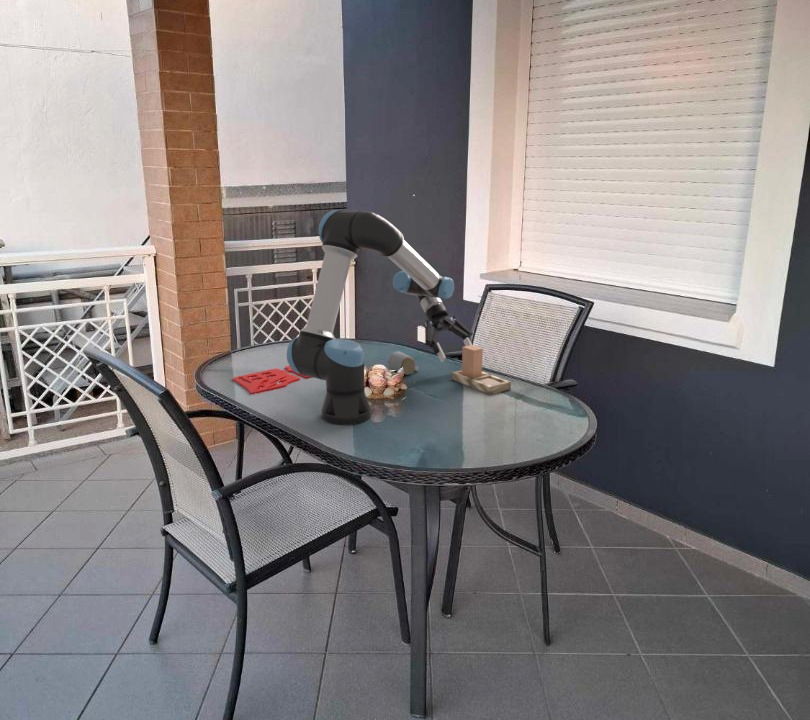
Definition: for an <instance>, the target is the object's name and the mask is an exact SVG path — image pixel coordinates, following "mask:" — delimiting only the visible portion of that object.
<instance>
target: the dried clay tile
mask: <svg viewBox="0 0 810 720" xmlns="http://www.w3.org/2000/svg"><path fill="white" fill-rule="evenodd" d="M478 381H480V382H483V383H485V384H488V385H494V384H498V383H501V382H498V381H495V380H493V379H490V378H487V379H482V380H478Z"/></svg>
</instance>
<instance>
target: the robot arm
mask: <svg viewBox="0 0 810 720" xmlns="http://www.w3.org/2000/svg"><path fill="white" fill-rule="evenodd" d="M318 235H319V237H318V238H319V240H320V241H321V243H322V244H321V249H322V251H323V252H324V256H323V261H322V263H321V267H320V272H319V276H318V279H317V284H316V286H315V290H314V295H313V299H312V303H311V305H310V306H311V307H310V310H309V315H308V318H307V321H306V326H305V327H303V328H302V329H300V331H299V335H298V336H297V337H294V338H292V340H291V341H290V342H289V344H288V345H287V349H286V360H287V363H288V366H290V367H291V369H292V370H293V371H295V372H296V373H299V374H301V375H303V376H309V377H313V378H315V379H318V380H322V381H325V383H326V384H325V385H326V388H325V389H326V395H325V397H324V400H323V405H322V408H321V418H322V420H323V421H325V422H326V423H329V424H333V425H342V426H343V425H348V426H349V425H356V424H360V423H363V422H366V421H367V420H370V419H371V415H372V409H371V406H370V403H369V401H368V398H367V396H366V395H367V394H366V391H365V356H364V354H365V353H364V349H363V346H362V345H361V344H360V343H359V342H357V341H354V340H352V339H351V340H350V339H342V338H336V337H335V335H334V330H335V326H336V322H337V318H338V314H339V310H340V306H341V301H342V298H343V294H344V290H345V287H346V282H347V279H348V275H349V271H350V266H351V263H352V261H353V260H355V259H356V258H358V254H359V251H360V249H361V250H368V251H373V252H376V253H378V254H379V255H380V256H381V257H384V258H388V259H390V260H391V262H392V263H394V265H396V266H397V267H398V268H399V269H400V270H399V271H397V272H396V273H395V275H394V276H393V278H392V287H393V289H395V291H397V292H400V293H402V294H406V295H411V296H415V297H416V298H417V300H418V303H419V304H420V306H421V308H422V310H423V312H424V313H425V316H426V318H427V319H426V320H425V322H423V326H424V334H425V335H424V338H425V339H424V342H425V344H424V345H425V346H426V347H428V346H429V348H431V349H432V350H433V351H434V353H435V354H436V355H437V357H438V358H439V360H440V362H441V363H443V362H444V361H445V360H446V359H447V357H446V355H445V353H444V351H443V348H442V347H441V345H440V342H437V340H438V337H439V333H440V332H445V331H448V332H452V333H454V334H455V335H457V336H458V337H459V338H461V339H462V340H463V341H462V342H463V343H464V346H469V345H473V346H474V343H473V341H472V339H471V337H472V336H473V335H474V334H473V331H472V330H470V329H469V328H468V327H467V326H466V325H465V324H464V323H463V322H461V321H460V320H459V318H458V316H456V315H453V316H452V317H450V316H449V314H448V311H447V308H446V306H445V305H444V303H443V300H442V299H449V298H451V297H452V296H453V294H454V291H455V283H454V280H453V279H452V278H451V277H448V276H442V275H440V273H438V272H437V271H436V270H435V269H434V268H433V267H432V266H431V265H430V264H429V263H428V262H427V261H426V260H425V259H424V258H423V257H422V256H421V255H420V254H419V253H418V252H417V251H416V250H415V249H414V248H413V247H412V246H411V245H410V244H409V243H408V242H407V241H406V240H405V239H404V234H403V233H402V232H401V231H400V230H399V229H398V228H397V227H396V226H395V225H393V224H392V223H391V222H390V221H388V219H386V218H384V217H383V216H381V215H379V214H378V213H375V212H372V211H369V210H363V211H362V210H352V209H351V210H349V209H336V210H335V209H333V210H330V211H329V212H327V213H326V214H324V216H323V217H322V218H321V220H320V222H319V225H318ZM432 327H433V333H432ZM296 373H295V374H296Z"/></svg>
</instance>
